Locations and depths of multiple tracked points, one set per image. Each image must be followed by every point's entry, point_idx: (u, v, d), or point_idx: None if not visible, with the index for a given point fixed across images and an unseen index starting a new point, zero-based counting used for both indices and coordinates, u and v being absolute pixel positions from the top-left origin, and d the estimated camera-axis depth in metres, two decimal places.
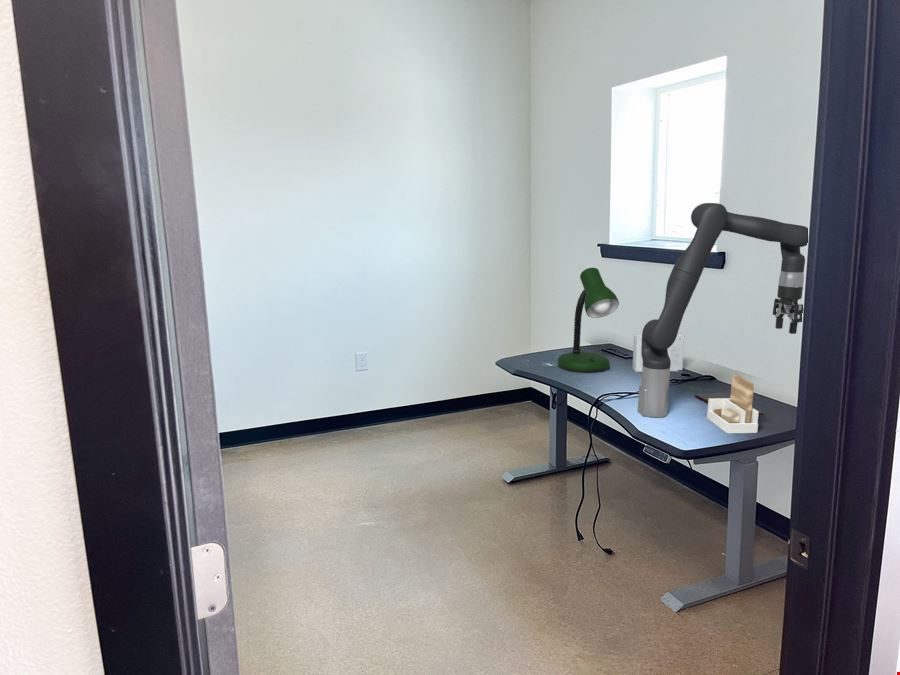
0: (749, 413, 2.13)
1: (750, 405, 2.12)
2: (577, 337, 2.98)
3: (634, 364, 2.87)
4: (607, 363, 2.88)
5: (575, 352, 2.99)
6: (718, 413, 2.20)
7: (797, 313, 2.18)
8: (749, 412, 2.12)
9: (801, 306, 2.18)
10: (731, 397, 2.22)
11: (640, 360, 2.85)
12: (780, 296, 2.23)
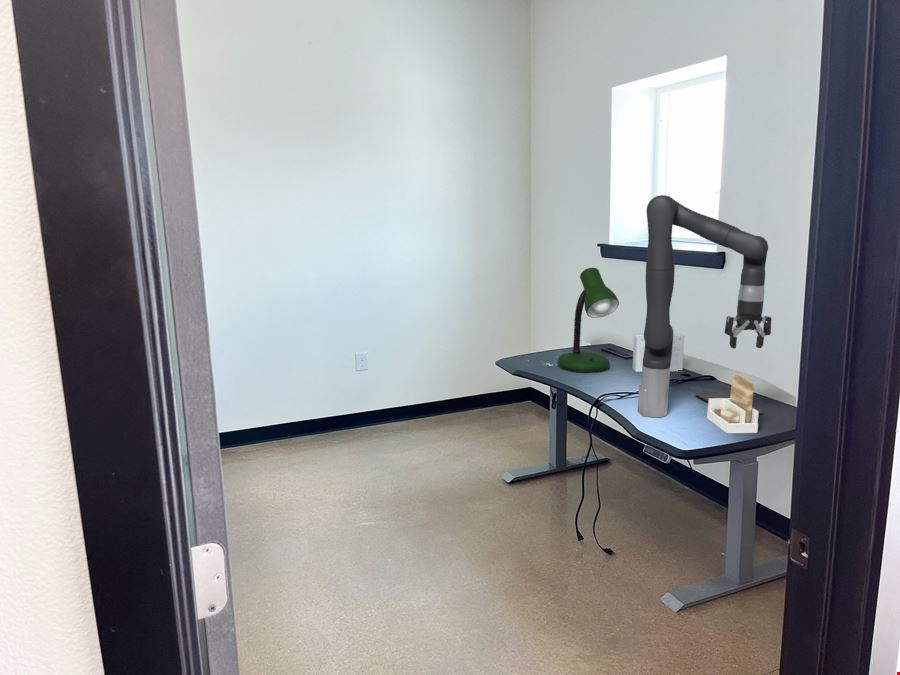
0: (749, 413, 2.13)
1: (750, 405, 2.12)
2: (577, 337, 2.98)
3: (634, 364, 2.87)
4: (607, 363, 2.88)
5: (575, 352, 2.99)
6: (718, 413, 2.20)
7: None
8: (749, 412, 2.12)
9: None
10: (731, 397, 2.22)
11: (640, 360, 2.85)
12: (757, 312, 2.07)
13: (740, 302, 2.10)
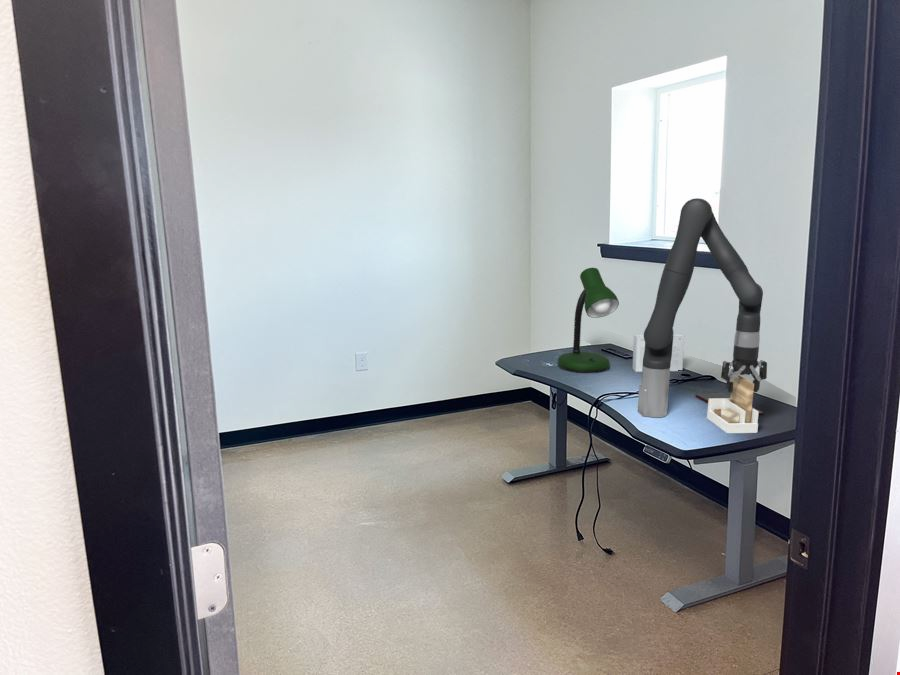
0: (749, 413, 2.13)
1: (750, 405, 2.12)
2: (577, 337, 2.98)
3: (634, 364, 2.87)
4: (607, 363, 2.88)
5: (575, 352, 2.99)
6: (718, 413, 2.20)
7: None
8: (749, 412, 2.12)
9: None
10: (731, 397, 2.22)
11: (640, 360, 2.85)
12: (753, 358, 2.11)
13: (736, 347, 2.13)
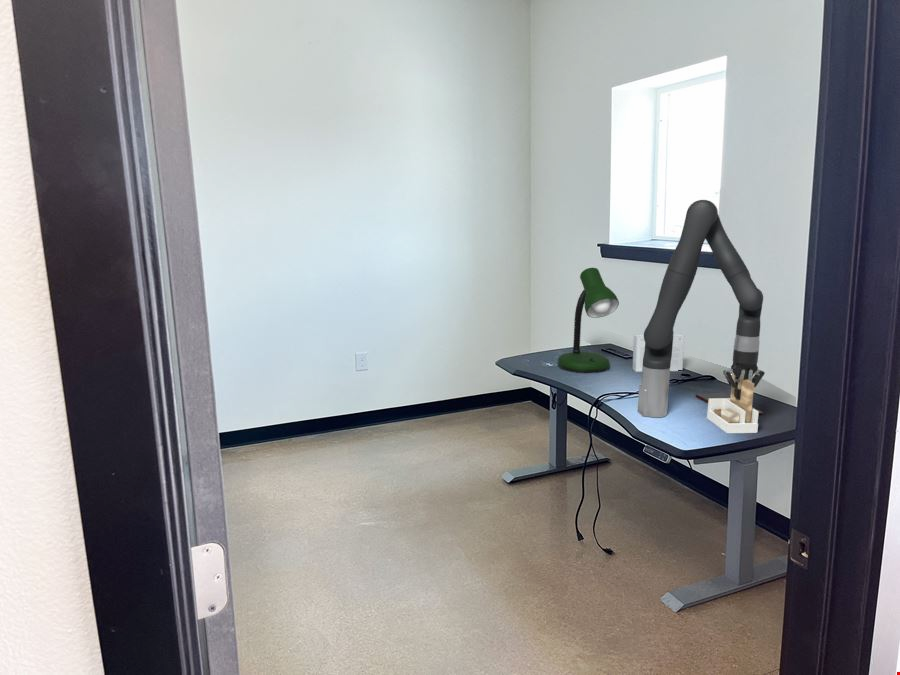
0: (749, 413, 2.13)
1: (750, 405, 2.12)
2: (577, 337, 2.98)
3: (634, 364, 2.87)
4: (607, 363, 2.88)
5: (575, 352, 2.99)
6: (718, 413, 2.20)
7: None
8: (749, 412, 2.12)
9: None
10: (731, 397, 2.22)
11: (640, 360, 2.85)
12: (753, 362, 2.11)
13: (736, 352, 2.13)
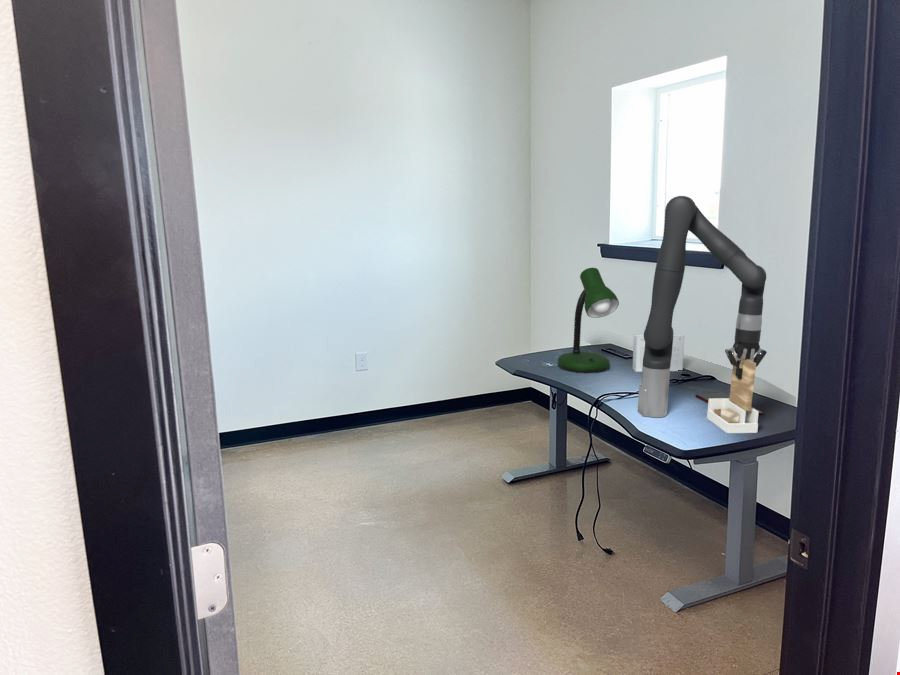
0: (751, 393, 2.11)
1: (752, 385, 2.11)
2: (577, 337, 2.98)
3: (634, 364, 2.87)
4: (607, 363, 2.88)
5: (575, 352, 2.99)
6: (718, 413, 2.20)
7: None
8: (751, 392, 2.11)
9: None
10: (732, 377, 2.21)
11: (640, 360, 2.85)
12: (755, 341, 2.09)
13: (738, 330, 2.11)
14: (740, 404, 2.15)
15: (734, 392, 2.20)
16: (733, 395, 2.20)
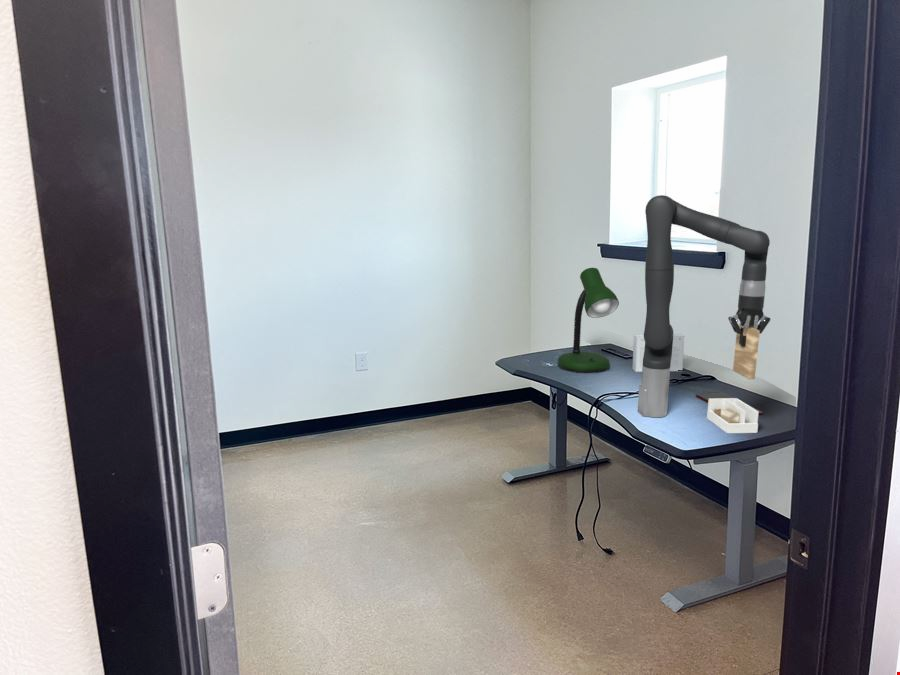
0: (754, 362, 2.09)
1: (755, 353, 2.08)
2: (577, 337, 2.98)
3: (634, 364, 2.87)
4: (607, 363, 2.88)
5: (575, 352, 2.99)
6: (718, 413, 2.20)
7: None
8: (754, 360, 2.09)
9: None
10: (736, 347, 2.18)
11: (640, 360, 2.85)
12: (758, 307, 2.07)
13: (741, 297, 2.09)
14: (744, 373, 2.13)
15: (737, 361, 2.17)
16: (737, 365, 2.18)
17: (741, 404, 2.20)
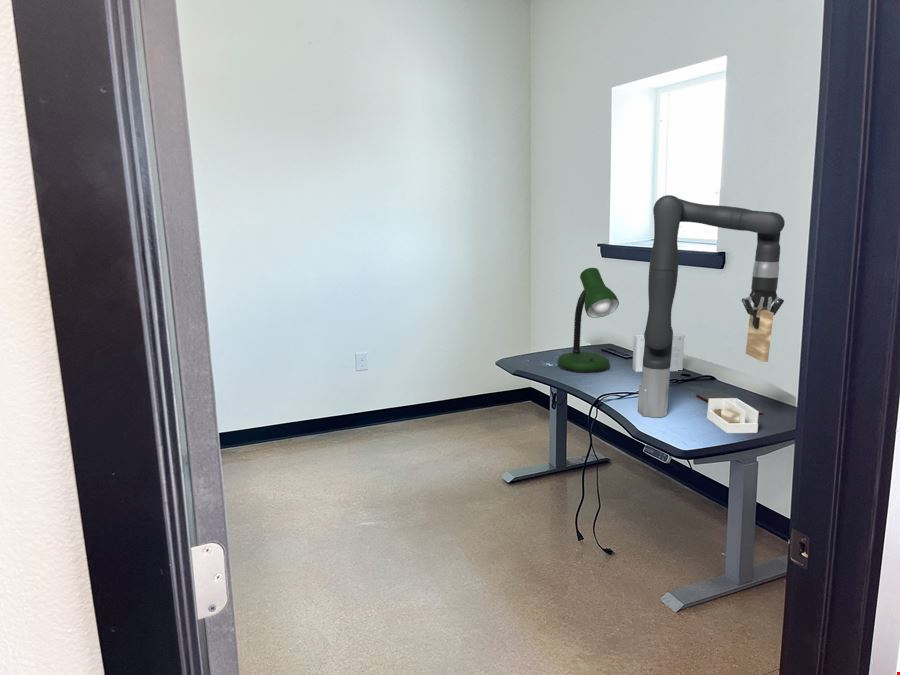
0: (768, 344, 2.09)
1: (769, 335, 2.08)
2: (577, 337, 2.98)
3: (634, 364, 2.87)
4: (607, 363, 2.88)
5: (575, 352, 2.99)
6: (718, 413, 2.20)
7: None
8: (768, 342, 2.09)
9: None
10: (749, 330, 2.18)
11: (640, 360, 2.85)
12: (772, 288, 2.07)
13: (755, 278, 2.09)
14: (757, 355, 2.13)
15: (750, 344, 2.17)
16: (750, 348, 2.18)
17: (741, 404, 2.20)
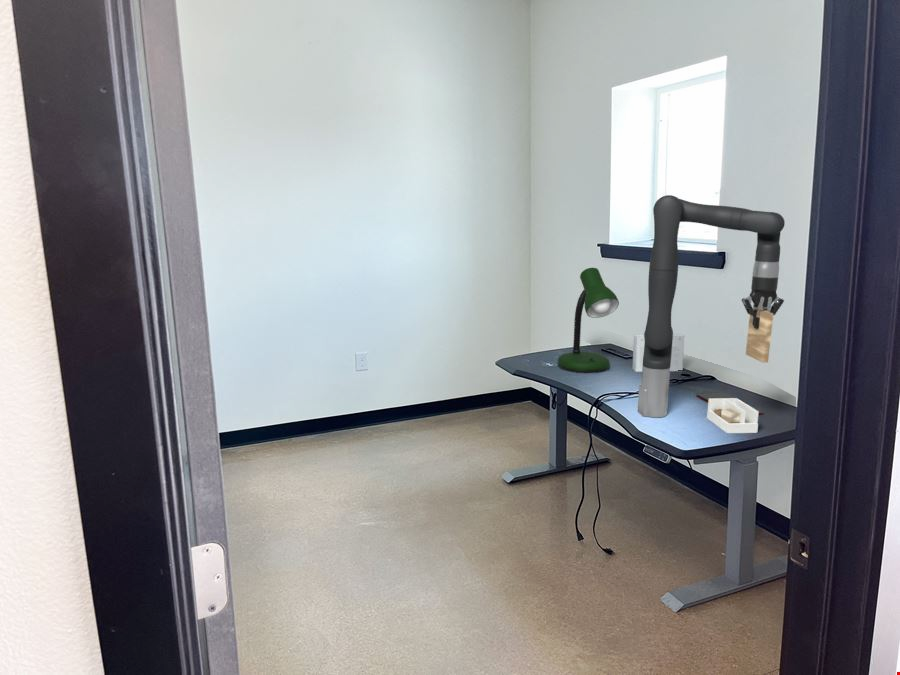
0: (768, 345, 2.09)
1: (769, 336, 2.08)
2: (577, 337, 2.98)
3: (634, 364, 2.87)
4: (607, 363, 2.88)
5: (575, 352, 2.99)
6: (718, 413, 2.20)
7: None
8: (768, 343, 2.09)
9: None
10: (749, 331, 2.18)
11: (640, 360, 2.85)
12: (772, 288, 2.07)
13: (755, 278, 2.09)
14: (757, 356, 2.13)
15: (750, 345, 2.17)
16: (750, 348, 2.18)
17: (741, 404, 2.20)
